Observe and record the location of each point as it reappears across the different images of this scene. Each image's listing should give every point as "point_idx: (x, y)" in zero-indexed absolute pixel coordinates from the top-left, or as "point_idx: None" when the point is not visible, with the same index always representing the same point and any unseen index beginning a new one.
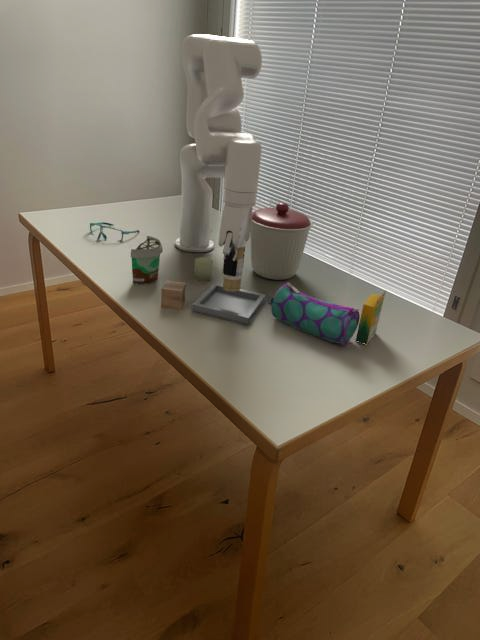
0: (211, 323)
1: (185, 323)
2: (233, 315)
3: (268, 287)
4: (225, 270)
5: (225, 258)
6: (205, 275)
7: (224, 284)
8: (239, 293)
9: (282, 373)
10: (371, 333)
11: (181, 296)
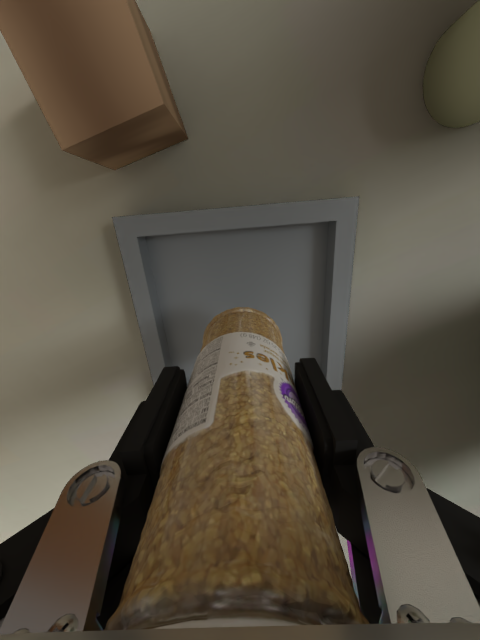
0: (107, 310)
1: (44, 241)
2: (151, 368)
3: (446, 360)
4: (140, 405)
5: (75, 493)
6: (448, 97)
7: (210, 331)
8: (326, 317)
9: (46, 495)
10: None
11: (80, 154)
